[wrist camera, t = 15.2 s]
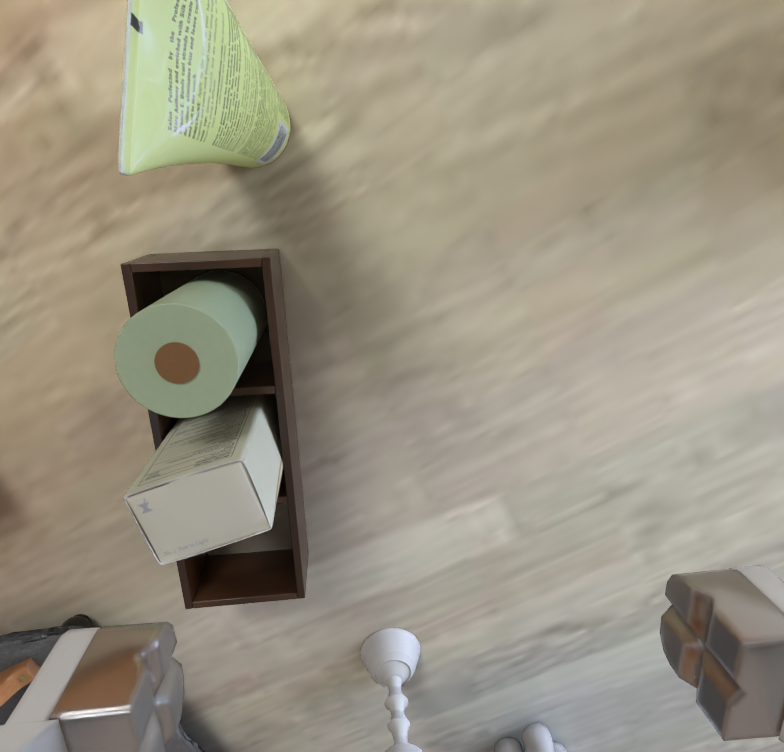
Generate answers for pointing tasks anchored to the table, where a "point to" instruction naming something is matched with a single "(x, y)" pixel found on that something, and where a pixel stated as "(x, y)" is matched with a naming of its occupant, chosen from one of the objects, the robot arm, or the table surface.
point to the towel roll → (191, 344)
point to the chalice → (393, 676)
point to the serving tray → (26, 656)
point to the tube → (195, 90)
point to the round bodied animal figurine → (531, 741)
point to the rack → (283, 567)
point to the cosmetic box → (211, 480)
